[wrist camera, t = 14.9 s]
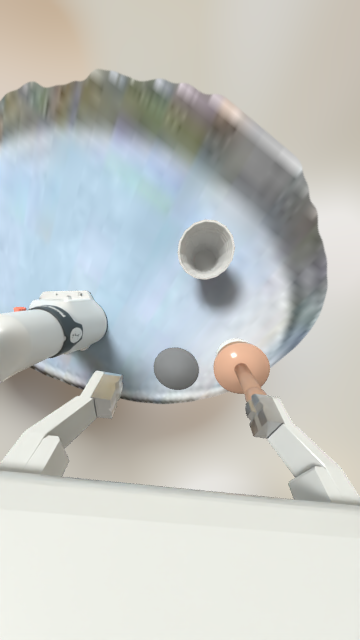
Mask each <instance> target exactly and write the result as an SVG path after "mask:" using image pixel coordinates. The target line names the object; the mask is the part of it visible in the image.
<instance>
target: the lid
mask: <svg viewBox="0 0 360 640" xmlns="http://www.w3.org/2000/svg"><path fill="white" fill-rule="evenodd" d="M269 372H270V365H269V361H268V359H267V357H266V355H265V354H264V353H263V352H262V351H261V350H260V349H259V348H258V347H256V346H254V345H252V344H249V343H243V342H239V343H233V344H230V345H228V346H226V347H224V348H223V349H222V350H221V351H220V352H219V353H218V354H217V356H216V358H215V361H214V374H215V377H216V379H217V381H218V383H219V384H220V385H221V386H222V387H223V388H225V389H226V390H228V391H230V392H233V393H238V394H245V399H246V402H248V401H249V400H251V396H252V395H253V394H261V395H266V393H265V392H264V391H263V390H262V389H261V386H262V385H263V384H264V383H265V382H266V380H267V378H268V376H269Z"/></svg>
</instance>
